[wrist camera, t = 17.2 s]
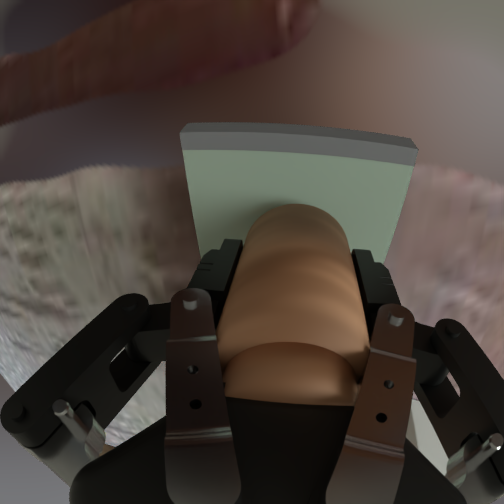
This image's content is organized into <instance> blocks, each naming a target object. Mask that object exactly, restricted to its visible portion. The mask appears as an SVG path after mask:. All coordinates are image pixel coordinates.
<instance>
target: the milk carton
mask: <svg viewBox="0 0 504 504" xmlns="http://www.w3.org/2000/svg"><path fill="white" fill-rule="evenodd" d="M406 438H407V439H408V440H409V441H410V442H411V443H412V444H413V445H414V446H415V447H416V448H417V449H418V450H419V451H420V452H421V453H422V454H423V455H424V456H425V457H426V458H427V459H428V460H429V461H430V462H431V463H432V464H433V465H434V466H435V467H436V468H437V469H438V470H439V471H440V472H441V473H442V474H443V475H444V476H445V474H446V473H447V471H446V467H447V462H448V460H449V459H448V457H447V455H446V453H445V451H444V449H443V447H442V445H441V443H440V440H439V438H438V436H437V434H436V432H435V430H434V428H433V426H432V424H431V423H430V421H429V419H428V417H427V415H426V413H425V411H424V409H423V407H422V405H421V403H420V401H417V400H413V399H412V404H411V410H410V416H409V422H408V428H407V433H406Z"/></svg>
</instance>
